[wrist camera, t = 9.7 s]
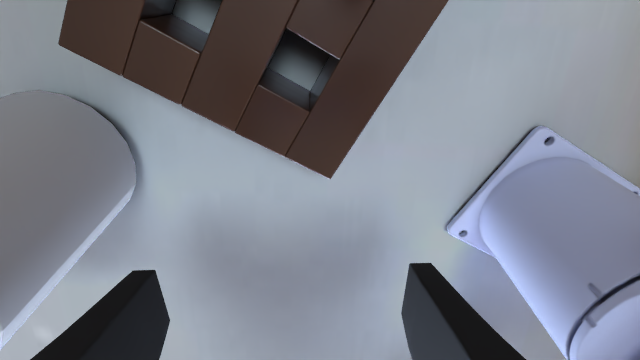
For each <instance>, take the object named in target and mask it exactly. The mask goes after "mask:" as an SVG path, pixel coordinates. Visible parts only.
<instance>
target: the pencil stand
mask: <svg viewBox="0 0 640 360" xmlns="http://www.w3.org/2000/svg"><path fill="white" fill-rule="evenodd" d="M175 1H176V0H67V5H66V10H65V15H64V19H63V24H62V29H61V33H60V38H59V43H58V44H59V45H60V46H62V47H64V48H66V49H68V50H70V51H72V52H74V53H76V54H78V55H80V56H82V57H84V58H86V59H88V60H90V61H92V62H94V63H96V64H98V65H100V66H102V67H104V68H106V69H108V70H110V71H112V72H114V73H116V74H118V75H120V76H122V75H123V77H124V78H127V79H129V80H131V81H133V82H135V83H137V84H139V85H141V86H143V87H145V88H147V89H149V90H151V91H153V92H155V93H157V94H159V95H161V96H163V97H165V98H167V99H169V100H171V101H173V102H175V103H177V104H179V105H181V104H182V106H183V107H185V108H187V109H189V110H191V111H193V112H195V113H197V114H199V115H201V116H203V117H205V118H207V119H209V120H211V121H213V122H215V123H217V124H219V125H221V126H223V127H225V128H227V129H229V130H231V131H235V133H237V134H239V135H241V136H243V137H245V138H247V139H249V140H251V141H253V142H255V143H257V144H259V145H261V146H263V147H265V148H267V149H269V150H271V151H273V152H275V153H277V154H279V155H281V156H283V157H284V156H285V157H286V158H287V159H289V160H291V161H293V162H295V163H297V164H299V165H301V166H303V167H305V168H308V169H310V170H312V171H314V172H316V173H318V174H320V175H322V176H324V177H326V178H328V179H331V177H332V176H333V174H334V173H335V171H336V170H337V168H338V167H339V165H340V164H341V162H342V161H343V159H344V158H345V156H346V155H347V153H348V152H349V150H350V149H351V147H352V146H353V144H354V143H355V141H356V140H357V138H358V137H359V135H360V134H361V132H362V131H363V129H364V128H365V126H366V125H367V123H368V121H369V120H370V118H371V117H372V115H373V114H374V112H375V111H376V109H377V108H378V106H379V105H380V103H381V102H382V100H383V99H384V97H385V96H386V94H387V93H388V91H389V90H390V88H391V87H392V85H393V84H394V82H395V81H396V79H397V78H398V76H399V75H400V73H401V72H402V70H403V69H404V67H405V65H406V64H407V62H408V61H409V59H410V58H411V56H412V55H413V53H414V52H415V50H416V49H417V47H418V46H419V44H420V43H421V41H422V40H423V38H424V37H425V35H426V34H427V32H428V31H429V29H430V28H431V26H432V25H433V23H434V22H435V20H436V19H437V17H438V16H439V14H440V13H441V11H442V9H443V8H444V6H445V5H446V3H447V2H448V0H222V2H221V5H220V7H219V10H218V13H217V15H216V18H215V20H214V23H213V25H212V28H211V30H210V33H209V35H208V34H207V33H205V32H203V31H201V30H200V29H198V28H196V27H194V26H192V25H191V24H189V23H187V22H185V21H184V20H182V19H180V18H178V17H176V16H175V15H172V14H171V13H172V10H173V7H174V4H175ZM286 28H287V29H289V30H290V31H292V32H294V33H295V34H297V35H299V36H300V37H302V38H304V39H305V40H307V41H309V42H310V43H312V44H314V45H315V46H317V47H319V48H320V49H322V50H324V51H325V52H327V53H329V54H330V57H329V59H328V60H327V62H326V64H325V66H324V68H323V69H322V71H321V73H320V75H319V77H318V78H317V80H316V82H315V84H314V85H313V87H312V89H311V91H308V90H307V89H305V88H303V87H301V86H299V85H298V84H296V83H294V82H292V81H291V80H289V79H287V78H285V77H283V76H282V75H280V74H278V73H276V72H275V71H273V70H271V69H269V68H267V67H268V65H269V63H270V60H271V58H272V56H273V54H274V52H275V50H276V48H277V46H278V44H279V42H280V40H281V38H282V36H283V34H284V32H285V30H286Z"/></svg>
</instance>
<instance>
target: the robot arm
mask: <svg viewBox="0 0 640 360" xmlns="http://www.w3.org/2000/svg"><path fill="white" fill-rule="evenodd" d="M548 137H550V139H549V141H547V142H546V143H544V141H545V140H546V138H548ZM462 230H464V232H462V233H459V232H460V231H462ZM447 231H448V232H449V234H450V235H451V236H453V237H455V238H457V239H459V240H461V241H463V242H465V243H467V244H469V245H471V246H473V247H475V248H477V249H479V250H481V251H483V252H485V253H487V254H489V255H491V256H493V257H495V258H497V260H498V261H499V263H500V264H501V266H502V267H503V269H504V270H505V271H506V273H507V274H508V276H509V277H510V279H511V280H512V281H513V283H514V284H515V286H516V287H517V289H518V290H519V292H520V293H521V294H522V296H523V297H524V299H525V300H526V302H527V303H528V304H529V306H530V307H531V309H532V310H533V312H534V313H535V315H536V316H537V317H538V319H539V320H540V322H541V323H542V325H543V326H544V327H545V329H546V330H547V332H548V333H549V335H550V336H551V338H552V339H553V340H554V342H555V343H556V345H557V346H558V348H559V349H560V350H561V352H562V353H563V355H564V356H565V358H566V359H567V360H640V188H638V187H637V186H635V185H634V184H632V183H630V182H629V181H627V180H626V179H624V178H623V177H621V176H620V175H618V174H617V173H615V172H614V171H612V170H611V169H609V168H608V167H606V166H605V165H603V164H602V163H600V162H599V161H597V160H596V159H594V158H593V157H591V156H590V155H588V154H587V153H585V152H584V151H582V150H581V149H579V148H578V147H576V146H575V145H573V144H572V143H570V142H569V141H567V140H566V139H564V138H563V137H561V136H560V135H558V134H557V133H555V132H554V131H552V130H551V129H549V128H547V127H545V126H538V127H536V128H535V129H533V130H532V131H531V132H530V134H529V135H528V136H527V137H526V138H525V139H524V140H523V141H522V143H521V144H520V145H519V146H518V147H517V148H516V149H515V150H514V151H513V153H512V154H511V155H510V156H509V157H508V158H507V159H506V160H505V162H504V163H503V164H502V165H501V166H500V167H499V168H498V169H497V170H496V172H495V173H494V174H493V175H492V176H491V177H490V178H489V179H488V180H487V182H486V183H485V184H484V185H483V186H482V187H481V188H480V189H479V191H478V192H477V193H476V194H475V195H474V196H473V197H472V198H471V199H470V201H469V202H468V203H467V204H466V205H465V206H464V207H463V208H462V209H461V211H460V212H459V213H458V214H457V215H456V216H455V217H454V218H453V220H452V221H451V222H450V223H449V224H448V226H447ZM401 314H402V319H403V324H404V328H405V333H406V338H407V342H408V347H409V350H410V353H411V357H412V360H526V359H525V358H524V357H523V356H521V355H520V354H519V353H518V352H517V351H516V350H515V349H514V348H513V347H512V346H511V345H510V344H509V343H507V342H506V341H505V340H504V339H503V338H502V337H501V336H500V335H499V334H498V333H497V332H496V331H495V330H494V329H493V328H492V327H491V326H490V325H489V324H488V323H487V322H486V321H485V320H484V319H483V318H482V317H481V316H480V315H479V314H478V313H477V312H476V311H475V310H474V309H473V308H472V307H471V306H470V305H469V304H468V303H467V302H466V301H465V300H464V298H463V297H462V296H461V295H460V294H459V293H458V292H457V291H456V290H455V289H454V288H453V287H452V286H451V284H450V283H449V282H448V281H447V280H446V279H445V278H444V277H443V276H442V275H441V274H440V272H439V271H438V270H437V269H436V268H435V267H434V266H433V265H432V264H431V263H411V264H409V270H408V276H407V282H406V289H405V295H404V301H403V307H402V313H401ZM169 322H170V319H169V315H168V312H167V309H166V305H165V302H164V298H163V295H162V292H161V288H160V285H159V281H158V278H157V275H156V271H155V270H137V271H132V272H131V273H130V274H129V275H127V276H126V277H125V278H124V279H123V280H122V281H121V282H119V283H118V284H117V285H116V286H115V287H114V288H113V289H112V290H110V291H109V292H108V293H107V294H106V295H105V296H104V297H103V298H102V299H101V300H99V301H98V302H97V303H96V304H95V305H94V306H93V307H92V308H90V309H89V310H88V311H87V312H86V313H85V314H84V315H83V316H81V317H80V318H79V319H78V320H77V321H76V322H75V323H73V324H72V325H71V326H70V327H69V328H68V329H67V330H65V331H64V332H63V333H62V334H61V335H60V336H58V337H57V338H56V339H55V340H54V341H52V342H51V343H50V344H49V345H47V346H46V347H45V348H44V349H43V350H41V351H40V352H39V353H38V354H37V355H35V356H34V357H33V358H32V359H30V360H159V358H160V355H161V351H162V348H163V345H164V341H165V337H166V334H167V330H168V326H169Z"/></svg>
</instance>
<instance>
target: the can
mask: <svg viewBox="0 0 640 360" xmlns="http://www.w3.org/2000/svg"><path fill="white" fill-rule="evenodd" d="M135 186H136V164H135V161H134V159H133V156H132V154H131V151H130V149H129V147H128V144H127V142H126V141H125V140H124V139H123V137H122V136H121V135H120V133H119V132H118V131H117V130H116V128H115V127H114V126H113V124H112V123H110V122H109V121H108V120H107V119H105V118H104V117H103V116H102V115H100V114H99V113H98V112H96V111H95V110H94V109H93V108H91V107H90V106H88V105H86V104H83V103H81V102H79V101H77V100H75V99H73V98H70V97H68V96H66V95H63V94H57V93H52V92H46V91H41V90H35V91H27V92H18V93H13V94H10V95H7V96H4V97H1V98H0V350H1V349H2V348H3V347H4V345H5V344H6V343H7V342H8V341H9V340H10V338H11V337H12V336H13V335H14V334H15V333H16V331H17V330H18V329H19V328H20V327H21V326H22V325H23V323H24V322H25V321H26V320H27V319H28V318H29V316H30V315H31V314H32V313H33V312H34V311H35V309H36V308H37V307H38V306H39V305H40V304H41V302H42V301H43V300H44V299H45V298H46V297H47V295H48V294H49V293H50V292H51V291H52V290H53V289H54V287H55V286H56V285H57V284H58V283H59V282H60V280H61V279H62V278H63V277H64V276H65V275H66V273H67V272H68V271H69V270H70V269H71V268H72V266H73V265H74V264H75V263H76V262H77V261H78V260H79V258H80V257H81V256H82V255H83V254H84V253H85V251H86V250H87V249H88V248H89V247H90V246H91V244H92V243H93V242H94V241H95V240H96V239H97V237H98V236H99V235H100V234H101V233H102V232H103V231H104V229H105V228H106V227H107V226H108V225H109V224H110V222H111V221H112V220H113V219H114V218H115V217H116V215H117V214H118V213H119V212H120V211H121V210H122V208H123V207H124V206H125V205H126V204H127V203H128V201H129V200H130V199H131V196H132V194H133V191H134V188H135Z"/></svg>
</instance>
